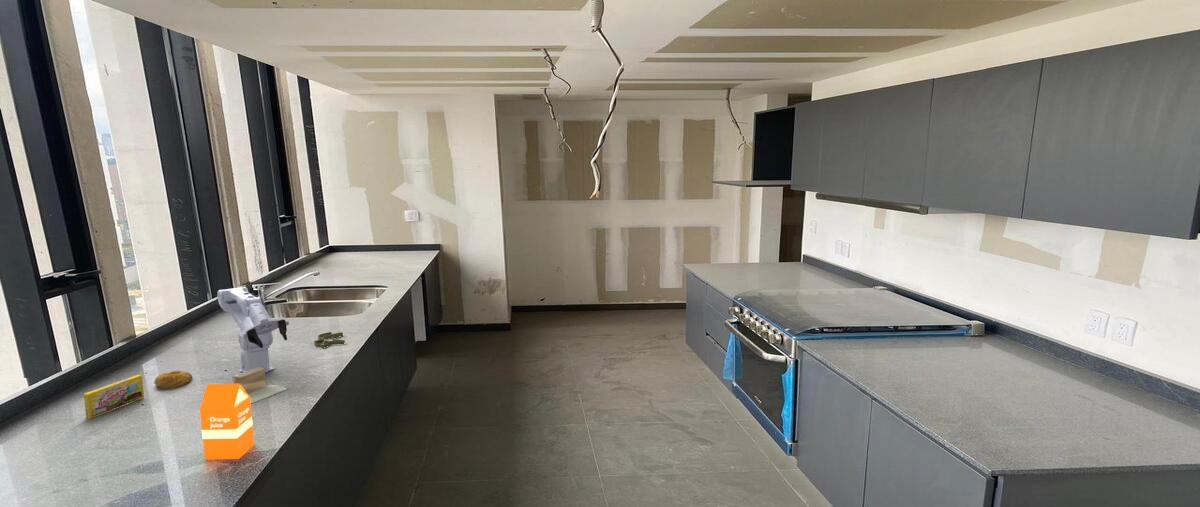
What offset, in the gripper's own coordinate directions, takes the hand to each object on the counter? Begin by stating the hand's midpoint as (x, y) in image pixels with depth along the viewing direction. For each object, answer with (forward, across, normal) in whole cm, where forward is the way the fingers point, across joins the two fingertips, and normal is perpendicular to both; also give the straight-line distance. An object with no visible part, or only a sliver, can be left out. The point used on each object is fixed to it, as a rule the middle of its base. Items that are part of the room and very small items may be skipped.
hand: (273, 342), depth 188 cm
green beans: (-26, +27, +36) cm, 52 cm away
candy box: (-9, -44, +15) cm, 48 cm away
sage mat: (+10, -8, +12) cm, 18 cm away
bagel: (-19, -29, +22) cm, 41 cm away
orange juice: (+42, -24, -5) cm, 49 cm away
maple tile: (+5, -10, +14) cm, 18 cm away
